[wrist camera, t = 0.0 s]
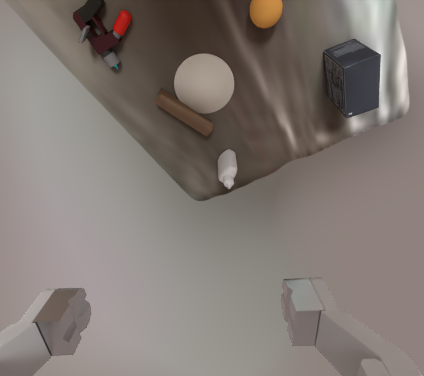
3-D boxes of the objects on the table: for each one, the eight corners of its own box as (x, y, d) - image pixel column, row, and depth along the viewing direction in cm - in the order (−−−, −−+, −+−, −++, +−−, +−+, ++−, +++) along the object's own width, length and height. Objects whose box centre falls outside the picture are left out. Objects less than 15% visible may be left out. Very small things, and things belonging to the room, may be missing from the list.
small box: (357, 86, 58) (380, 108, 51) (327, 97, 60) (345, 120, 52) (356, 36, 51) (383, 53, 44) (322, 50, 53) (342, 68, 45)
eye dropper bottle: (239, 158, 71) (243, 189, 62) (220, 166, 73) (222, 197, 64) (232, 146, 68) (236, 177, 60) (213, 155, 70) (214, 185, 61)
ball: (263, -22, 45) (269, -18, 41) (285, 2, 47) (293, 8, 43) (241, 9, 48) (244, 16, 44) (263, 30, 50) (268, 38, 46)
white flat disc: (197, 38, 51) (197, 39, 51) (246, 79, 57) (246, 79, 56) (162, 91, 58) (162, 91, 58) (210, 123, 63) (210, 123, 63)
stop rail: (162, 88, 57) (160, 94, 55) (213, 122, 63) (213, 129, 61) (156, 97, 59) (154, 103, 57) (206, 130, 65) (206, 136, 63)
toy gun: (113, 71, 55) (107, 80, 52) (69, 9, 48) (58, 15, 44) (152, 49, 52) (148, 56, 49) (112, -20, 45) (104, -17, 41)
